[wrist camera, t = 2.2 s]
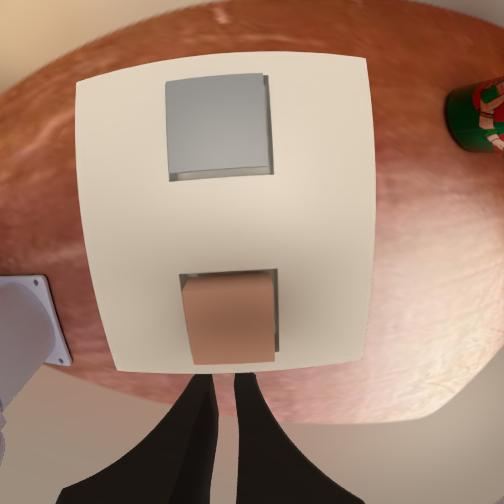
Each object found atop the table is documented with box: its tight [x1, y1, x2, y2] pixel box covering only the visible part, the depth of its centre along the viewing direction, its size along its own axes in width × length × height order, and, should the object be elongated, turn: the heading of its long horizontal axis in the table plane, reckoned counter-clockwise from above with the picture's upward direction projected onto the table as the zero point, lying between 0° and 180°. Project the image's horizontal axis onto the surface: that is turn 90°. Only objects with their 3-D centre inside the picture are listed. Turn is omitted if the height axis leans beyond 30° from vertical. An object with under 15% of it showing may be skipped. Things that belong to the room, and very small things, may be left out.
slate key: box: [166, 73, 268, 173], centre depth 13 cm, size 4×4×2 cm
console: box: [75, 52, 376, 374], centre depth 16 cm, size 16×18×3 cm
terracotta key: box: [182, 273, 275, 365], centre depth 16 cm, size 4×4×2 cm
